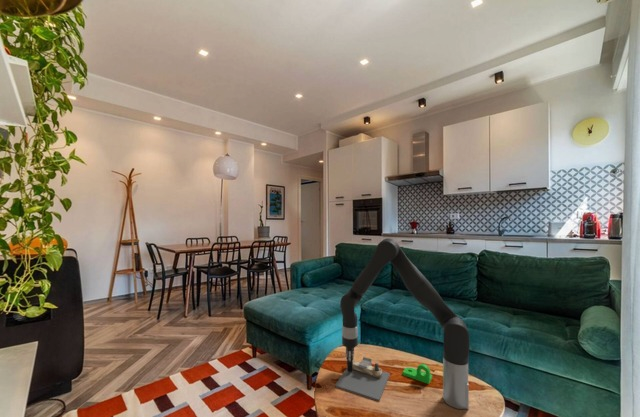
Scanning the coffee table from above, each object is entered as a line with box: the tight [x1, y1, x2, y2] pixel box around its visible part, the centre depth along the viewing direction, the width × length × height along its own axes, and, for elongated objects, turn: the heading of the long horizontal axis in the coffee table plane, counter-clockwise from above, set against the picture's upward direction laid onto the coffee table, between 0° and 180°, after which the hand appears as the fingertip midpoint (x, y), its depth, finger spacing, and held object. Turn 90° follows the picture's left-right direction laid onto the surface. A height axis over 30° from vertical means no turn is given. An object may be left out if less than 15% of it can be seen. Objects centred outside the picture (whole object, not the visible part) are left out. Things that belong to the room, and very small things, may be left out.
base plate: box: [334, 366, 391, 402], centre depth 123 cm, size 20×20×1 cm
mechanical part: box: [402, 363, 433, 385], centre depth 126 cm, size 12×6×8 cm, turn 54°
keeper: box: [359, 356, 373, 369], centre depth 129 cm, size 4×8×4 cm, turn 153°
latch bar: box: [346, 359, 383, 378], centre depth 129 cm, size 17×4×5 cm, turn 59°
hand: (350, 370), depth 128 cm, fingers closed
